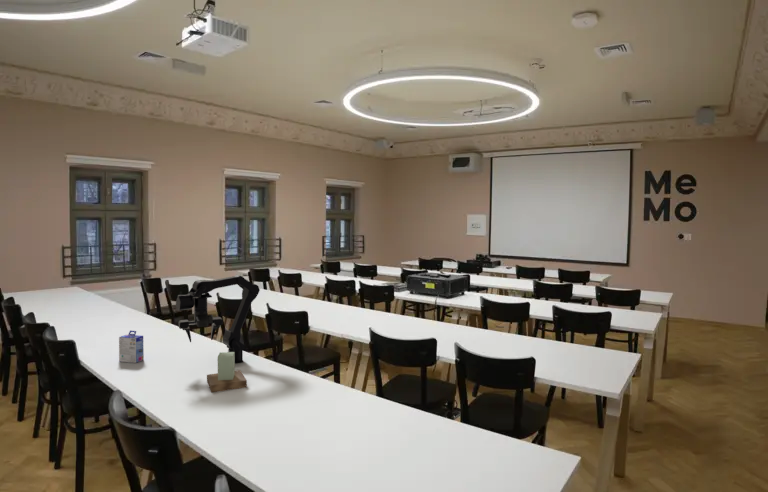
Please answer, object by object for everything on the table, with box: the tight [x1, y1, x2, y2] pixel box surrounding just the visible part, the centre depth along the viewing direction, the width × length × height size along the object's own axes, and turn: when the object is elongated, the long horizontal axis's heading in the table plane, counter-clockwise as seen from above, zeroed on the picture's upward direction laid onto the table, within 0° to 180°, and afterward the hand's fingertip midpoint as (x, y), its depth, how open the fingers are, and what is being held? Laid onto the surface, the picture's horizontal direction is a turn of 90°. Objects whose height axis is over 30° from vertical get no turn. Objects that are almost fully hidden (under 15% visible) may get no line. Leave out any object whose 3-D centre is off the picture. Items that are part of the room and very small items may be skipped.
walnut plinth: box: [206, 369, 248, 394], centre depth 203 cm, size 14×14×3 cm
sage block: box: [217, 351, 236, 380], centre depth 202 cm, size 6×6×10 cm
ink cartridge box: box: [118, 330, 145, 364], centre depth 232 cm, size 10×6×14 cm, turn 78°
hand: (201, 340), depth 222 cm, fingers open, 9 cm apart
